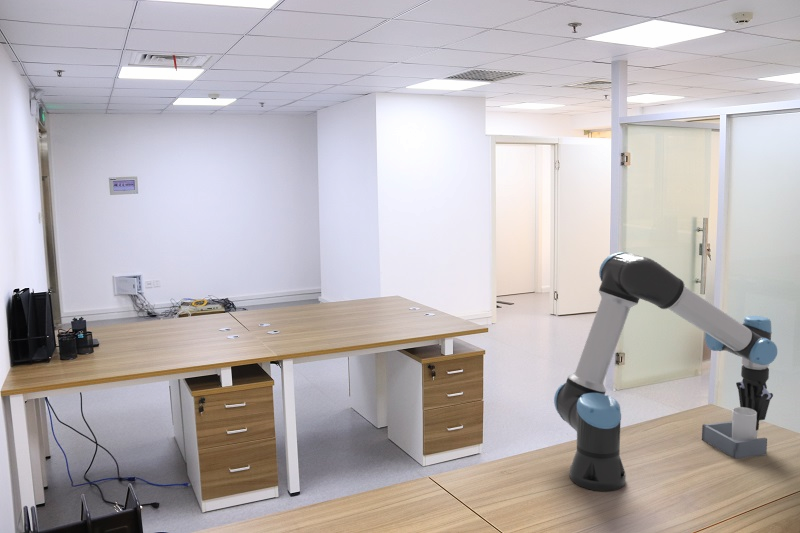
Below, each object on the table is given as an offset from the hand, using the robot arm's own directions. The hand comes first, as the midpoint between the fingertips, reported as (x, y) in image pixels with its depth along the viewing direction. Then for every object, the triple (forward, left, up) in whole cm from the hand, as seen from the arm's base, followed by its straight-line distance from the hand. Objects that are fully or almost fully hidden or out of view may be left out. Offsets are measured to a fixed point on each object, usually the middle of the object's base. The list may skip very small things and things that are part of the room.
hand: (751, 438), depth 208 cm
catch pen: (-7, 0, -2) cm, 7 cm away
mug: (-4, 0, -2) cm, 4 cm away
